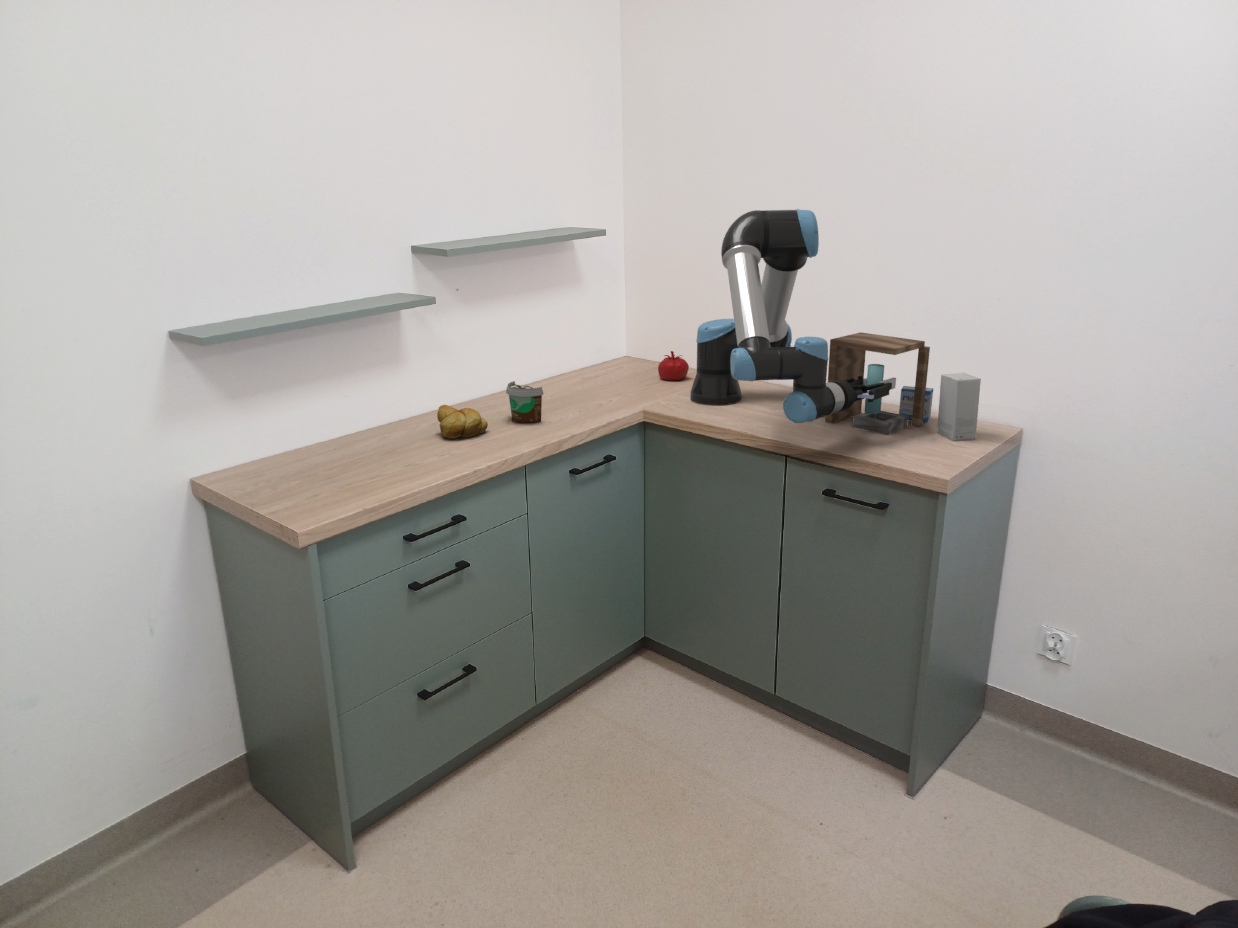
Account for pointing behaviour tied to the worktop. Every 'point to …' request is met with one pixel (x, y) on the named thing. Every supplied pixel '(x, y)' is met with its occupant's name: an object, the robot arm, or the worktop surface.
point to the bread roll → (460, 422)
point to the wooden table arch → (850, 364)
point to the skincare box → (958, 406)
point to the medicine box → (908, 401)
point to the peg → (873, 377)
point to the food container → (525, 403)
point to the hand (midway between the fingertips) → (886, 381)
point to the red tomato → (673, 368)
